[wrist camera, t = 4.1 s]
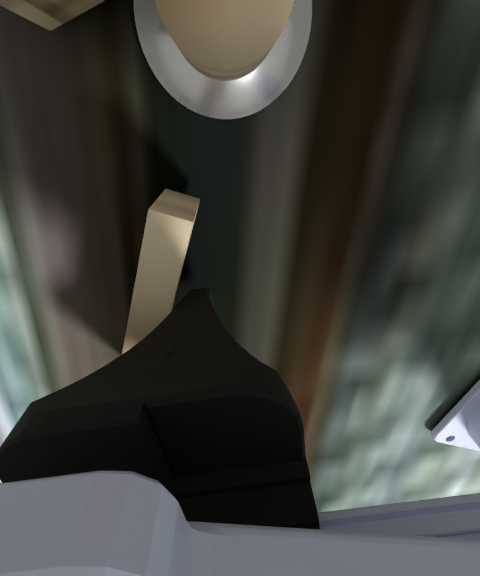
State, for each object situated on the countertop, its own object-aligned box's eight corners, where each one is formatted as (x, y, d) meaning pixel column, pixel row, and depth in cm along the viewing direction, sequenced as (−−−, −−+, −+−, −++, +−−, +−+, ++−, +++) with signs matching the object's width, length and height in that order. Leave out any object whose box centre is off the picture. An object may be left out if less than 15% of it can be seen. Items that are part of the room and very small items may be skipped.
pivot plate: (340, -50, 8) (343, -56, 8) (271, 141, 11) (272, 142, 10) (156, -150, 7) (154, -160, 7) (122, 84, 10) (119, 82, 9)
